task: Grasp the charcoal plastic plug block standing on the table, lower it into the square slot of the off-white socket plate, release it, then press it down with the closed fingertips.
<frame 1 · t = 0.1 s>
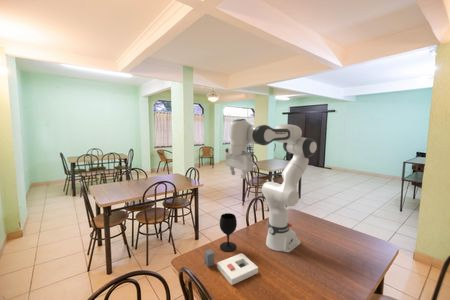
hand: (238, 176, 109), 48 cm above the table, fingers open, 8 cm apart
socket plate: (237, 270, 107), on the table
plug: (209, 263, 112), on the table
wine glass: (228, 247, 128), on the table
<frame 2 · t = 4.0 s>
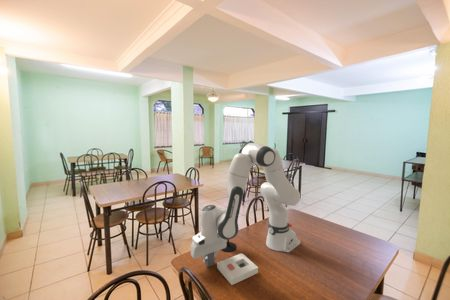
hand: (209, 259, 112), 2 cm above the table, fingers closed on plug, 4 cm apart
plug: (209, 263, 112), on the table, touching gripper
everything else where it was.
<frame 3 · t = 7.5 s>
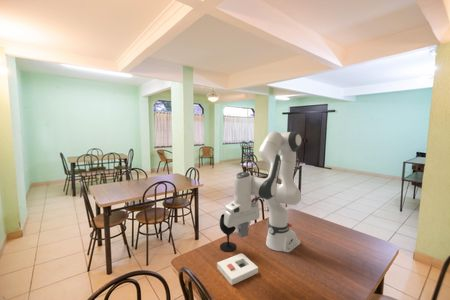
hand: (242, 230, 106), 21 cm above the table, fingers closed on plug, 4 cm apart
plug: (242, 234, 107), point 19 cm above the table, touching gripper
everything else where it was.
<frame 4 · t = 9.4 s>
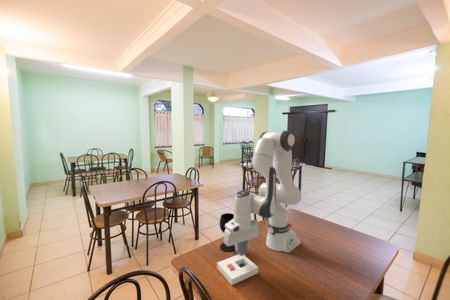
hand: (241, 248, 107), 11 cm above the table, fingers closed on plug, 4 cm apart
plug: (241, 252, 107), point 9 cm above the table, touching gripper
everything else where it was.
when the fingers open (4 cm above the table, at t = 11.2 s): plug drops 1 cm, resting on socket plate.
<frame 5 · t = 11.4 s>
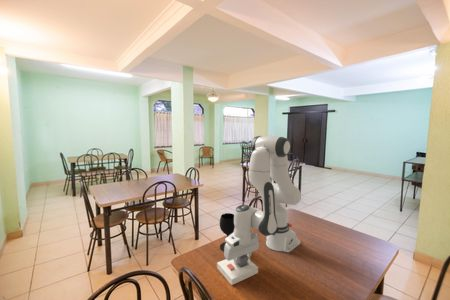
hand: (242, 261, 108), 4 cm above the table, fingers open, 6 cm apart
plug: (242, 268, 109), resting on socket plate
everything else where it was.
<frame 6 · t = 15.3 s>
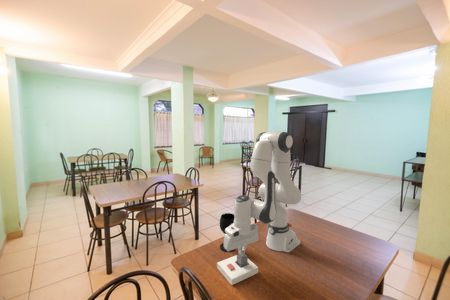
hand: (241, 252, 108), 9 cm above the table, fingers closed
nothing on the table moved.
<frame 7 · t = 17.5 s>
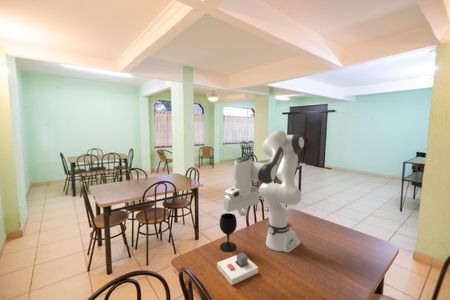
hand: (242, 215, 106), 29 cm above the table, fingers closed
nothing on the table moved.
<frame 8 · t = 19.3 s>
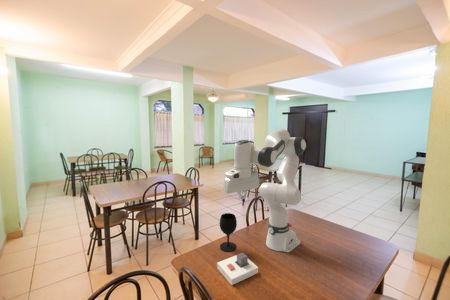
hand: (241, 198, 107), 37 cm above the table, fingers closed
nothing on the table moved.
at the end: plug 0.1 cm from the target spot on the socket plate, point 0.2 cm above the socket plate's base; plug tilted 0°; the gripper is holding nothing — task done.
